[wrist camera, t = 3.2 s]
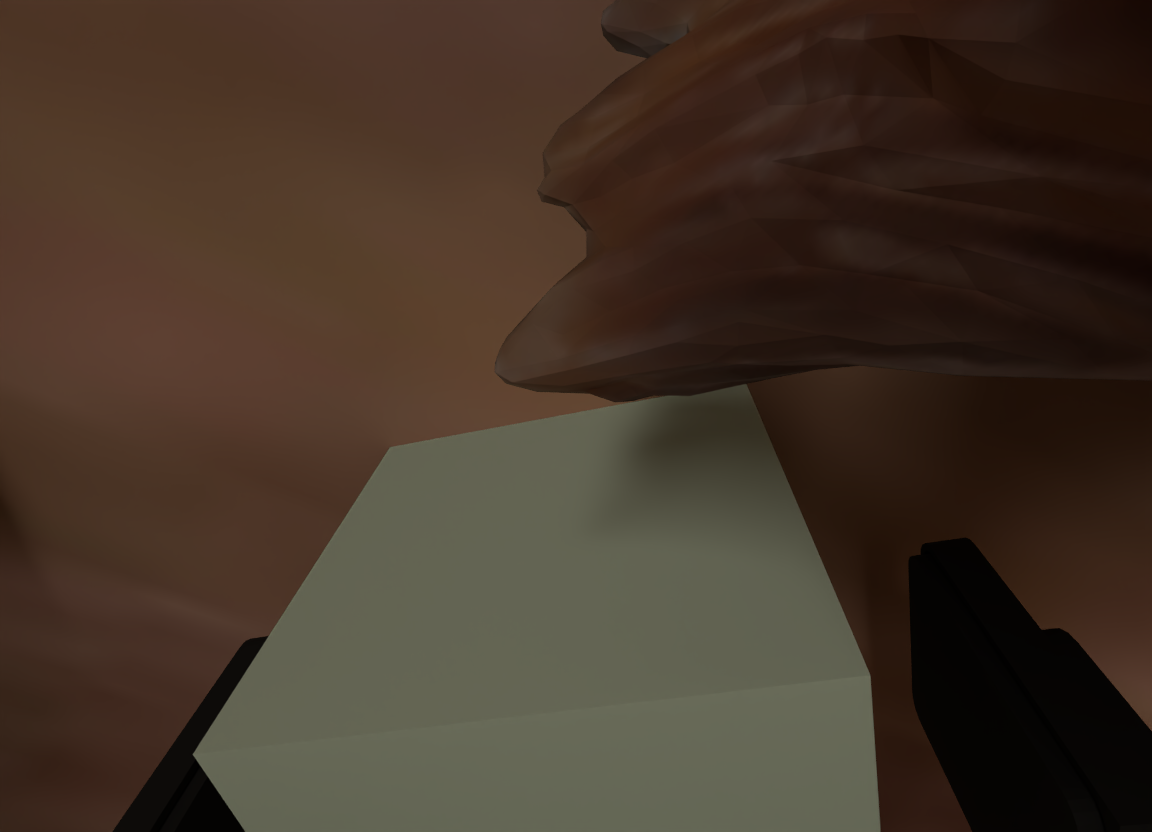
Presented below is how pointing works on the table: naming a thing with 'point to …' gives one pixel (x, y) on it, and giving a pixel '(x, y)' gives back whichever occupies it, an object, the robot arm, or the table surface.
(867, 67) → the horse figurine
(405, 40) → the table surface
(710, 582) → the green block
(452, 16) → the table surface
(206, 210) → the table surface
